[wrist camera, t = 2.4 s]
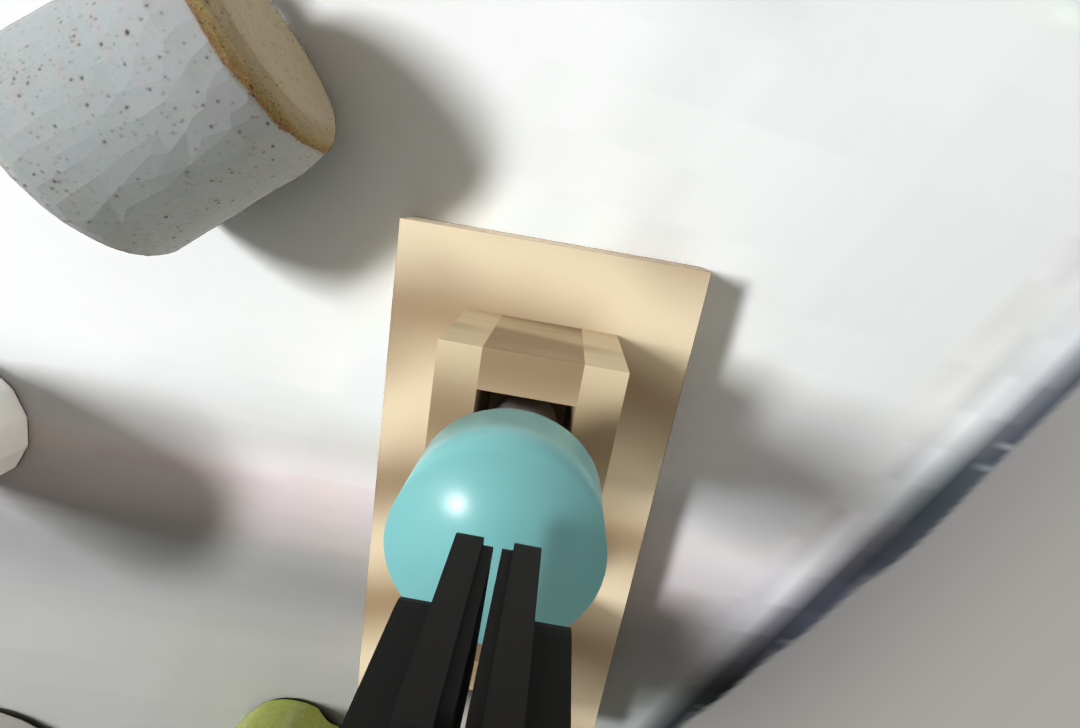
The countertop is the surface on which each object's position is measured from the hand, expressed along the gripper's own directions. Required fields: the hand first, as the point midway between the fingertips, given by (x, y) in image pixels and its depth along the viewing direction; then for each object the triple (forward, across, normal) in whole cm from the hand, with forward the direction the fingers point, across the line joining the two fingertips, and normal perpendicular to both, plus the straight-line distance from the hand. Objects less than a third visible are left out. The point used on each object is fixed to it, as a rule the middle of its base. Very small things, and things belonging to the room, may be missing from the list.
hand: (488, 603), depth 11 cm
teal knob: (+9, 0, 0) cm, 9 cm away
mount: (+14, 0, +6) cm, 16 cm away
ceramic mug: (+15, +15, -9) cm, 23 cm away
